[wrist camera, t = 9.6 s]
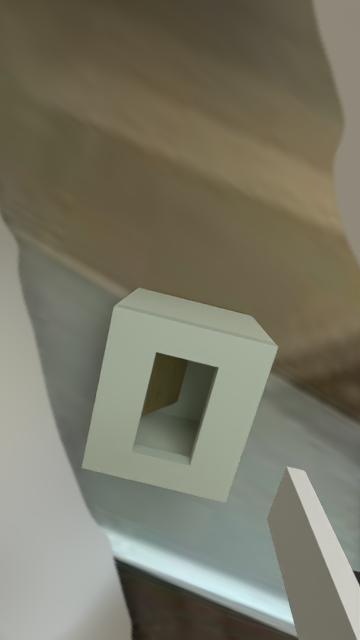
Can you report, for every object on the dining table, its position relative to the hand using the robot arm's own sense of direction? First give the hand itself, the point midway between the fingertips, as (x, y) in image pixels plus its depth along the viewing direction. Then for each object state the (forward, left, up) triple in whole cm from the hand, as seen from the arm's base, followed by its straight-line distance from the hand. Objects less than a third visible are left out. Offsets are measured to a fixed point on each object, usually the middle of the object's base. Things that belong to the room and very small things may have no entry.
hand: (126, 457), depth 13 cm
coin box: (+5, +2, -26) cm, 26 cm away
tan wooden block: (+6, +2, -24) cm, 25 cm away
